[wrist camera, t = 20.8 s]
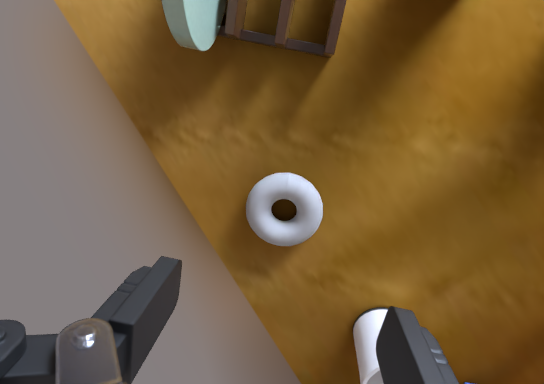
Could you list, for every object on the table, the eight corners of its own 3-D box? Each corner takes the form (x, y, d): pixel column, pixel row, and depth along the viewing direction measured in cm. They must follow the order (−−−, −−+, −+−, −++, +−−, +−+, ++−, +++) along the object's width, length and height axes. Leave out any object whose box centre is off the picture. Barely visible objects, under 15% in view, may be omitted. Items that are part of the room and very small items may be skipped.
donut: (256, 243, 46) (327, 234, 44) (252, 255, 42) (329, 246, 41) (241, 175, 43) (316, 163, 41) (235, 183, 39) (316, 170, 38)
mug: (337, 324, 48) (346, 384, 39) (387, 293, 46) (409, 350, 36) (381, 370, 50) (399, 438, 41) (431, 343, 48) (463, 409, 38)
